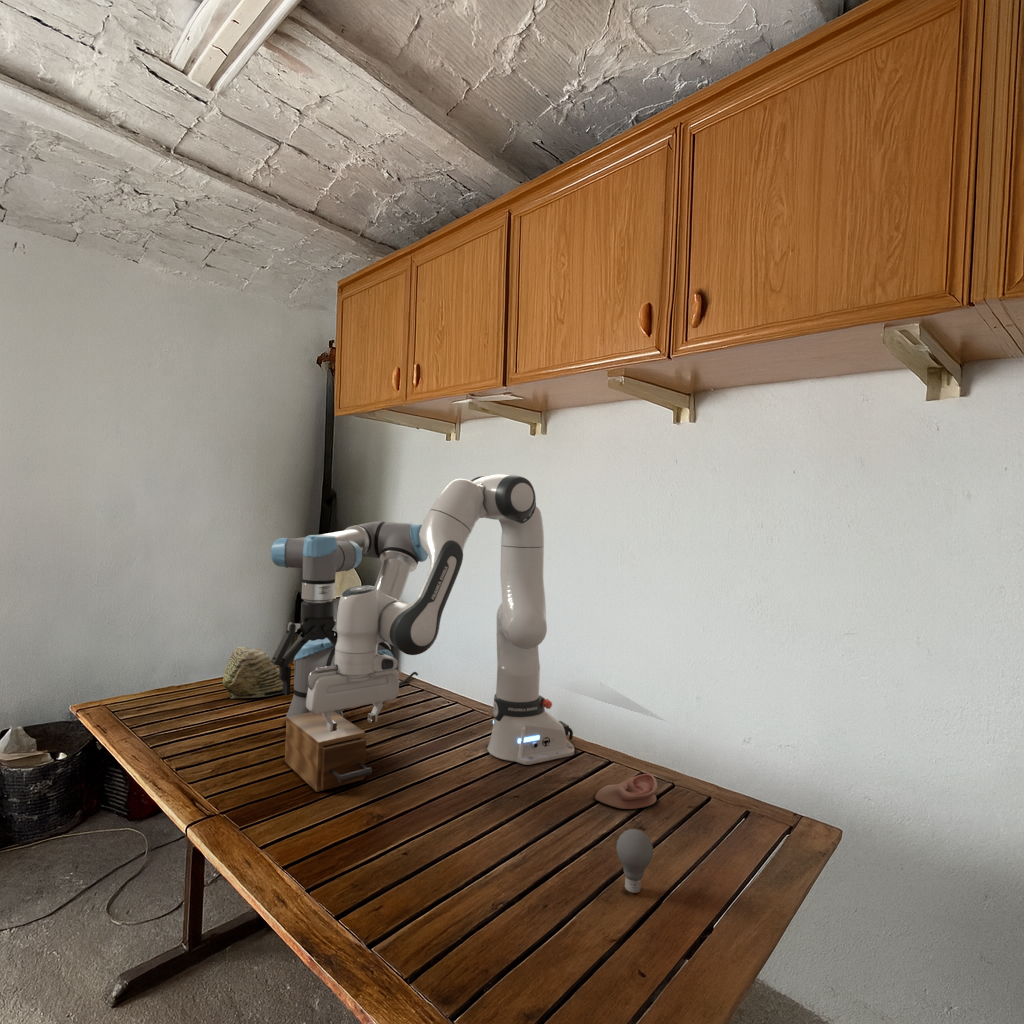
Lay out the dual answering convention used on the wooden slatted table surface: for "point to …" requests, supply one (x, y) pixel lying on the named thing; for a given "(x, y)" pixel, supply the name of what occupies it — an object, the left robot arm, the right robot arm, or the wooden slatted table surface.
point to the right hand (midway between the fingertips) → (352, 726)
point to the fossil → (251, 674)
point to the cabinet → (314, 743)
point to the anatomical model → (630, 793)
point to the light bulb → (634, 857)
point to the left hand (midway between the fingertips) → (314, 689)
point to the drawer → (343, 763)
